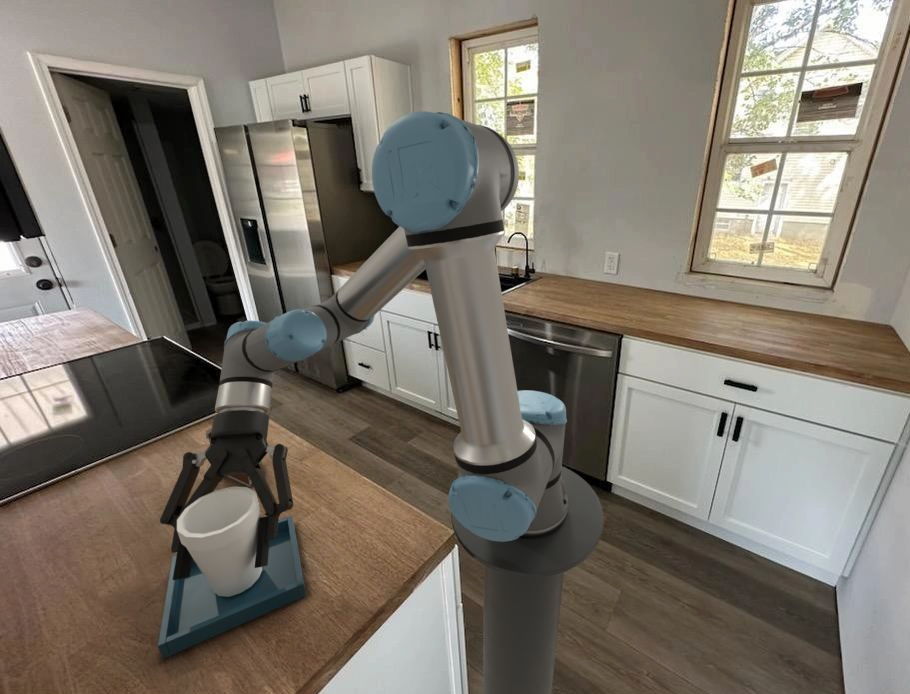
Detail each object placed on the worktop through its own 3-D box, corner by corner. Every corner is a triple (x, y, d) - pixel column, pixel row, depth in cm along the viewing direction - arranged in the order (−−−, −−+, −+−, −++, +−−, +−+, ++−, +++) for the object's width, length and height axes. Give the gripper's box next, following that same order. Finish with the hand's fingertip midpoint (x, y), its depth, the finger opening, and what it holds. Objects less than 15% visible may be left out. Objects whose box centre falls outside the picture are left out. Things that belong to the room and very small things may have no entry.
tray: (294, 525, 72) (292, 514, 71) (306, 595, 61) (303, 583, 60) (176, 568, 64) (171, 556, 63) (162, 659, 52) (157, 646, 51)
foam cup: (286, 566, 64) (271, 501, 59) (224, 619, 56) (201, 548, 51) (249, 542, 68) (232, 478, 63) (186, 587, 60) (162, 519, 55)
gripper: (321, 413, 72) (313, 557, 63) (177, 425, 67) (147, 582, 58) (309, 402, 65) (298, 562, 56) (149, 414, 60) (110, 590, 52)
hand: (221, 572), depth 57 cm, fingers closed on foam cup, 9 cm apart
